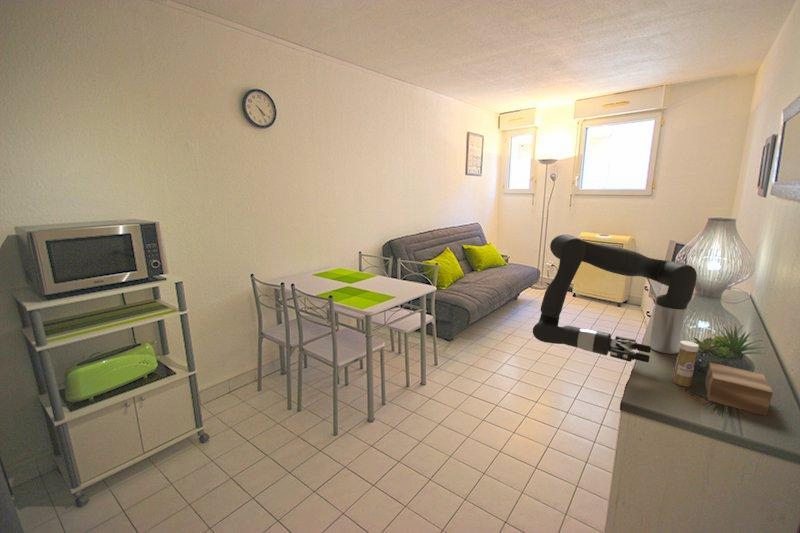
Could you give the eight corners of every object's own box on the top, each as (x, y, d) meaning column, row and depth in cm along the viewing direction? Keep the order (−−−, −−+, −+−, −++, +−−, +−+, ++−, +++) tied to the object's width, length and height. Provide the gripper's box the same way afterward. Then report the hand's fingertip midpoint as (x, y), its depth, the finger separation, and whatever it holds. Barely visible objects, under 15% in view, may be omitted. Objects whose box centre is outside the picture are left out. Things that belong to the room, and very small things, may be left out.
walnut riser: (705, 382, 113) (709, 362, 111) (757, 396, 106) (763, 374, 104) (708, 400, 103) (713, 378, 102) (766, 416, 96) (772, 392, 95)
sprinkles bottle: (680, 387, 110) (688, 346, 107) (668, 379, 114) (676, 340, 112) (694, 387, 110) (703, 346, 107) (682, 379, 115) (690, 340, 112)
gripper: (591, 337, 119) (650, 351, 110) (598, 325, 130) (652, 336, 121) (588, 358, 121) (646, 373, 111) (595, 344, 132) (649, 357, 123)
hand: (649, 354), depth 116 cm, fingers open, 8 cm apart
